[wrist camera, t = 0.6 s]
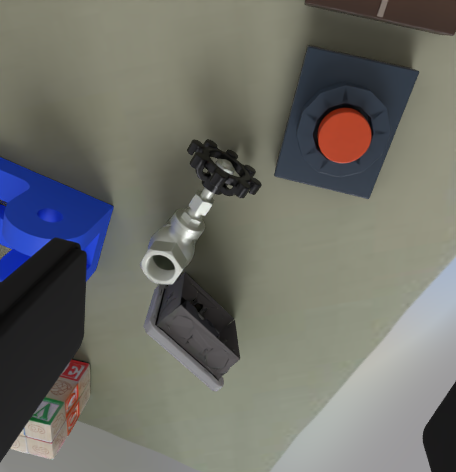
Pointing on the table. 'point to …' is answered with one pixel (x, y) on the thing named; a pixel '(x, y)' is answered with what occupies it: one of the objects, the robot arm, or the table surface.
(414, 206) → the table surface
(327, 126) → the red button
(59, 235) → the bracket
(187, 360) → the electrical switch
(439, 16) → the handle panel
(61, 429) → the stack of blocks
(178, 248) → the valve
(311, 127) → the button box
